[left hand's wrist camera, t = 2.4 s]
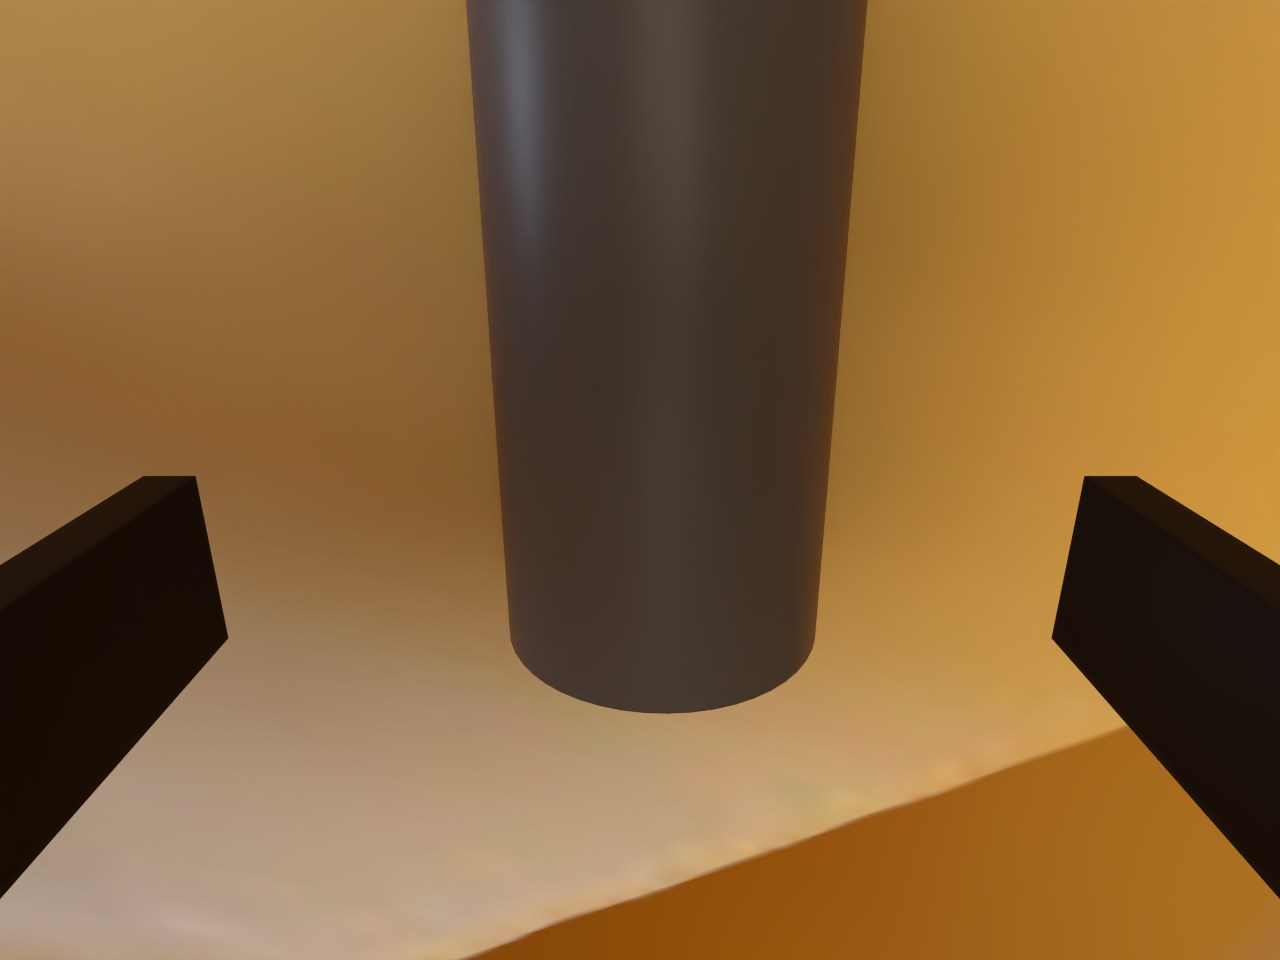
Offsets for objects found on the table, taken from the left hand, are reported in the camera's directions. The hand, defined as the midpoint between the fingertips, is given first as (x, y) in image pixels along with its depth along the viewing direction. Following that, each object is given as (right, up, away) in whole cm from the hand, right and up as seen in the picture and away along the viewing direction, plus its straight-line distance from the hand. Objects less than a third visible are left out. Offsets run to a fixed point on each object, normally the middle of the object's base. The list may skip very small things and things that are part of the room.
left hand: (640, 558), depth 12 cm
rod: (0, +10, +10) cm, 15 cm away
